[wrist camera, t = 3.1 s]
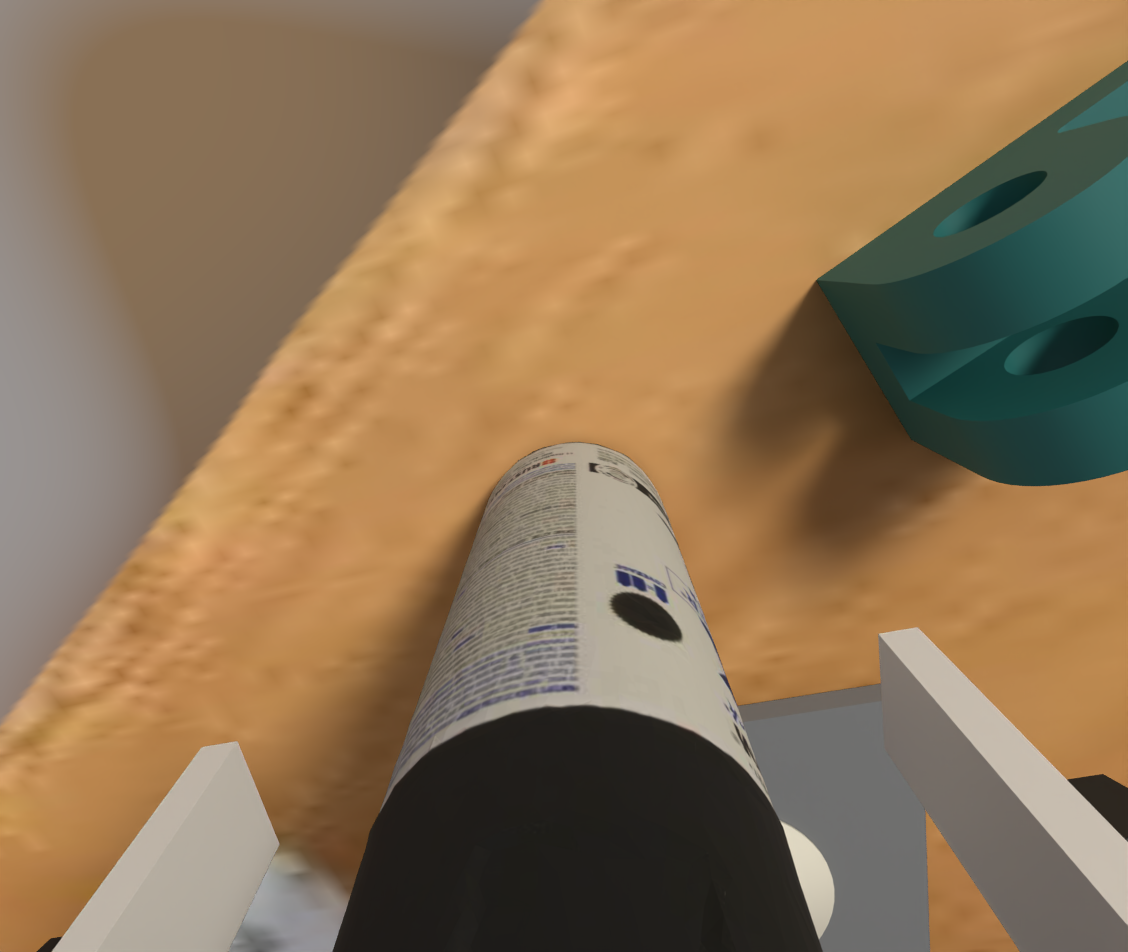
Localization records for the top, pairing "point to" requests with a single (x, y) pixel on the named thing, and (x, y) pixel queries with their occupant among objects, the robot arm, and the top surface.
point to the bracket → (1010, 303)
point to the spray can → (576, 749)
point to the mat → (845, 818)
